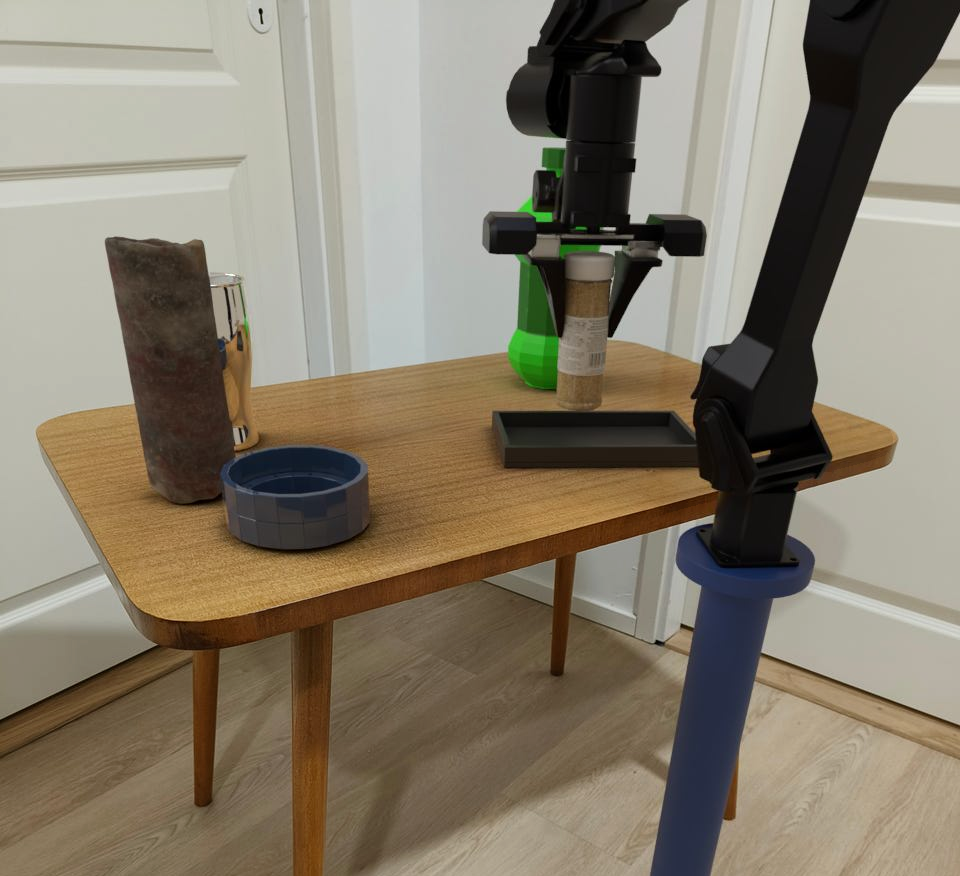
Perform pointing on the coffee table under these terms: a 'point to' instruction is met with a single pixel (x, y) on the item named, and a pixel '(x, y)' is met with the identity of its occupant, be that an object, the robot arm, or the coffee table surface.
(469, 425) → the coffee table surface
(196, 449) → the brown stone pillar
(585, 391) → the sprinkles bottle
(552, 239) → the robot arm
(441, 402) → the coffee table surface
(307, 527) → the bowl
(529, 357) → the plastic bottle
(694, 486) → the coffee table surface
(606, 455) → the tray
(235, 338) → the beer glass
